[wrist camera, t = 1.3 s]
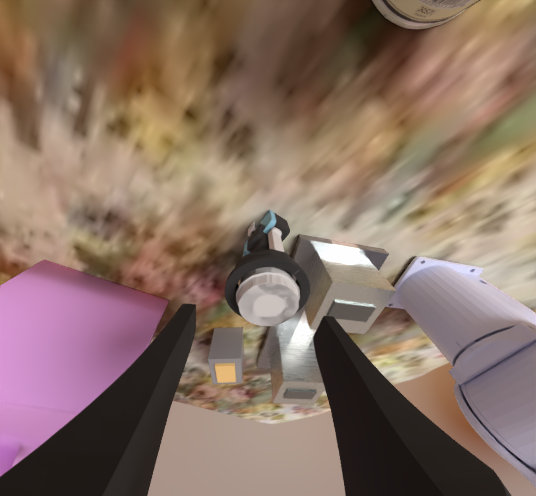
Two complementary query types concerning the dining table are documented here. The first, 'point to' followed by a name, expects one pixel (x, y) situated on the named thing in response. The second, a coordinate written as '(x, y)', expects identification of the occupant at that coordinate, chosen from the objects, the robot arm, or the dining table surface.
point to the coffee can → (421, 11)
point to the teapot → (63, 349)
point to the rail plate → (323, 312)
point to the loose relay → (226, 355)
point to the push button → (267, 276)
